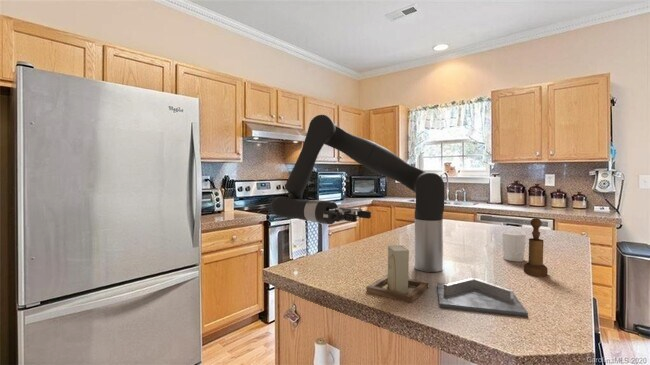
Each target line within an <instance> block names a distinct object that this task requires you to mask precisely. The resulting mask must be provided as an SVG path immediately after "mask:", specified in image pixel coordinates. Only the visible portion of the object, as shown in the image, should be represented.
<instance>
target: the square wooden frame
mask: <svg viewBox="0 0 650 365" xmlns="http://www.w3.org/2000/svg"><path fill="white" fill-rule="evenodd" d="M386 284H387V285H388V274H386V275H384V276H382V277H381V278H379V279H377V280H375V281H374V282H371V284H368V285H366V287H365V289H366V293H370V294H374V295H378V296H382V297H385V298H390V299H394V300H397V301H401V302H405V303H410V304H411V303H412V302H414V301H415V300H417V299H418V298H419V297H420V296H421V295H422V294H423V293H425V292H426V291H427V290H428V289H429V288H430V287H429V285H430V284H429V282H427V281H421V280H420V281H419V280H415V279H411V278H408V287H409V286H410V287H412V288H414V289H412V290H411V291H410V292H408V293H401V292H397V291H392V290H390V289H389V288H388V289H387V288H383V286H385V285H386Z"/></svg>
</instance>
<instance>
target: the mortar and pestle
mask: <svg viewBox="0 0 650 365" xmlns="http://www.w3.org/2000/svg"><path fill="white" fill-rule="evenodd" d="M530 225H531V226H532V229H533V231H532V232H531V234H532V238H528V261H527V262H526V263H524V264H523V272H524V273H525V274H527V275H530V276H536V277H547V276H548V267H547V266H546V265H545V264H544V239H541V238H540V237H541V232H540V228H541V226H542V220H541V219H540V218H538V217H535V218H532V219H531V220H530Z"/></svg>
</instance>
